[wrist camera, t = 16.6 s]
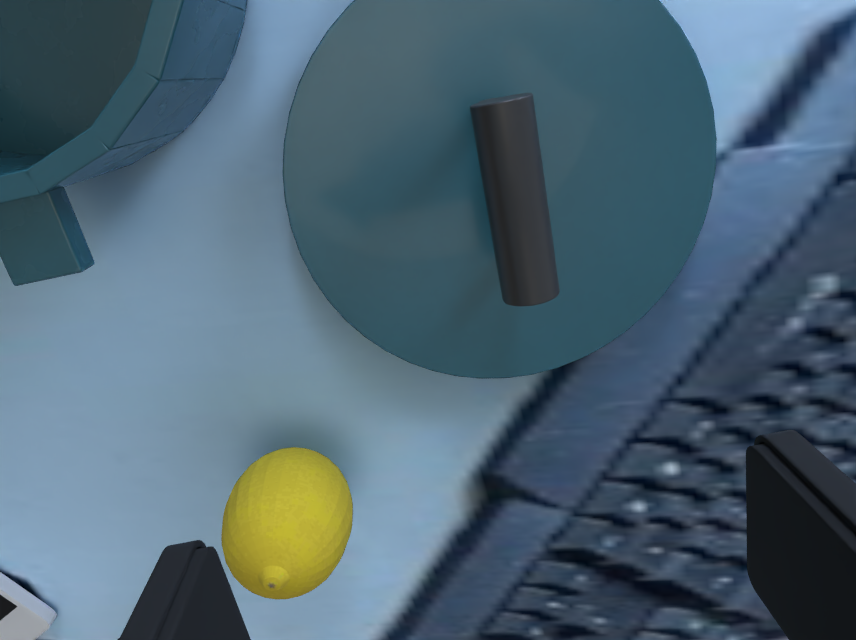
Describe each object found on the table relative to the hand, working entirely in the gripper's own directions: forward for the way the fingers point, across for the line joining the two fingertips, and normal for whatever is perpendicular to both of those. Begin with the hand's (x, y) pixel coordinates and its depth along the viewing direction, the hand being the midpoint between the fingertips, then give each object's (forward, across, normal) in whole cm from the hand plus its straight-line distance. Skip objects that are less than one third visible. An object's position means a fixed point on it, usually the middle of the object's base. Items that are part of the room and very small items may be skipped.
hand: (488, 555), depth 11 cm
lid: (+18, -3, -3) cm, 18 cm away
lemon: (+19, +8, +9) cm, 23 cm away
